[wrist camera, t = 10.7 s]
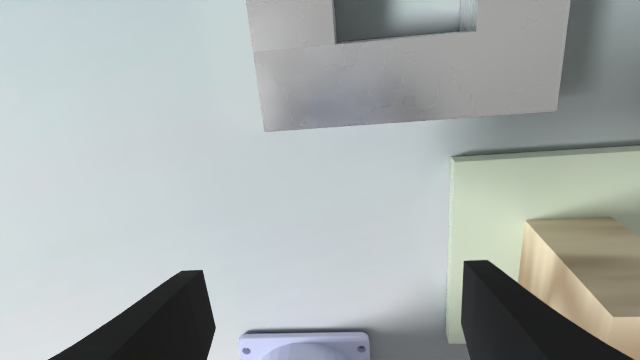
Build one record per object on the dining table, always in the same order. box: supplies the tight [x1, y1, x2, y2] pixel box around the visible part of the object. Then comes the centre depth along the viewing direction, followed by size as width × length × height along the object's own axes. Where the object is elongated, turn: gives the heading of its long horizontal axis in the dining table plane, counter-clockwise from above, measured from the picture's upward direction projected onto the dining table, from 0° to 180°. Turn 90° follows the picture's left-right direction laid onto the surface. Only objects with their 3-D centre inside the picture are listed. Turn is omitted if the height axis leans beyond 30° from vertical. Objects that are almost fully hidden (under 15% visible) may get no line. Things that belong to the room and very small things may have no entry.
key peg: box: [518, 217, 640, 360], centre depth 17 cm, size 4×4×7 cm
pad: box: [445, 145, 640, 344], centre depth 20 cm, size 11×11×1 cm
